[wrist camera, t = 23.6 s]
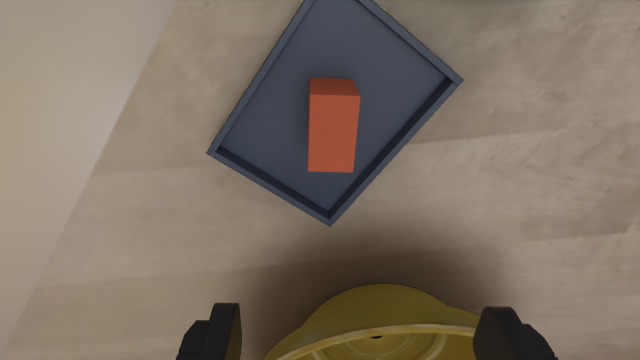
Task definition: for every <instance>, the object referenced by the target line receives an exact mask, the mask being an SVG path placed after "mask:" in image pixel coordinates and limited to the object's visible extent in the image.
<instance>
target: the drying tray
mask: <svg viewBox="0 0 640 360" xmlns="http://www.w3.org/2000/svg"><path fill="white" fill-rule="evenodd" d="M311 77H312V78H340V79H353V81H354V83H355V85H356V88H357V90H358V92H359V95H360V107H359V117H358V128H357V138H356V149H355V159H354V170H353V172H310V171H308V127H309V90H310V78H311ZM462 82H463V79H462V78H461V77H460V76H459V75H458V74H457V73H455V72H454V71H453V70H452V69H451V68H450V67H449V66H447V65H446V64H445V63H444V62H443V61H442V60H440V59H439V58H438V57H437V56H436V55H435V54H434V53H432V52H431V51H430V50H429V49H428V48H427V47H425V46H424V45H423V44H422V43H421V42H420V41H419V40H417V39H416V38H415V37H414V36H413V35H412V34H410V33H409V32H408V31H407V30H406V29H405V28H404V27H402V26H401V25H400V24H399V23H398V22H397V21H395V20H394V19H393V18H392V17H391V16H390V15H389V14H387V13H386V12H385V11H384V10H383V9H382V8H380V7H379V6H378V5H377V4H376V3H375V2H374V1H372V0H304V1H303V3H302V4H301V6H300V7H299V9H298V10H297V12H296V14H295V15H294V17H293V18H292V20H291V21H290V23H289V24H288V26H287V28H286V29H285V31H284V32H283V34H282V35H281V37H280V38H279V40H278V41H277V43H276V45H275V46H274V48H273V49H272V51H271V52H270V54H269V55H268V57H267V59H266V60H265V62H264V63H263V65H262V66H261V68H260V69H259V71H258V72H257V74H256V76H255V77H254V79H253V80H252V82H251V83H250V85H249V86H248V88H247V90H246V91H245V93H244V94H243V96H242V97H241V99H240V100H239V102H238V104H237V105H236V107H235V108H234V110H233V111H232V113H231V114H230V116H229V117H228V119H227V121H226V122H225V124H224V125H223V127H222V128H221V130H220V131H219V133H218V135H217V136H216V138H215V139H214V141H213V142H212V144H211V146H210V147H209V149H208V151H207V152H206V153H207V154H208V155H210V156H212V157H213V158H215V159H217V160H218V161H220V162H222V163H223V164H225V165H227V166H228V167H230V168H232V169H234V170H235V171H237V172H239V173H240V174H242V175H244V176H245V177H247V178H249V179H250V180H252V181H254V182H255V183H257V184H259V185H260V186H262V187H264V188H266V189H267V190H269V191H271V192H272V193H274V194H276V195H277V196H279V197H281V198H282V199H284V200H286V201H287V202H289V203H291V204H293V205H294V206H296V207H298V208H299V209H301V210H303V211H304V212H306V213H308V214H309V215H311V216H313V217H314V218H316V219H318V220H320V221H321V222H323V223H325V224H326V225H328V226H330V227H331V226H332V225H333V224H334V222H335V221H336V220H337V219H338V218H339V217H340V216H341V215H342V214H343V213H344V211H345V210H346V209H347V208H348V207H349V206H350V205H351V204H352V203H353V202H354V200H355V199H356V198H357V197H358V196H359V195H360V194H361V193H362V192H363V191H364V189H365V188H366V187H367V186H368V185H369V184H370V183H371V182H372V181H373V180H374V178H375V177H376V176H377V175H378V174H379V173H380V172H381V171H382V170H383V169H384V167H385V166H386V165H387V164H388V163H389V162H390V161H391V160H392V159H393V158H394V156H395V155H396V154H397V153H398V152H399V151H400V150H401V149H402V148H403V147H404V145H405V144H406V143H407V142H408V141H409V140H410V139H411V138H412V137H413V136H414V134H415V133H416V132H417V131H418V130H419V129H420V128H421V127H422V126H423V125H424V123H425V122H426V121H427V120H428V119H429V118H430V117H431V116H432V115H433V114H434V112H435V111H436V110H437V109H438V108H439V107H440V106H441V105H442V104H443V103H444V101H445V100H446V99H447V98H448V97H449V96H450V95H451V94H452V93H453V92H454V90H455V89H456V88H457V87H458V86H459V85H460V84H461V83H462Z"/></svg>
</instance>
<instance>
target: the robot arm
mask: <svg viewBox="0 0 640 360" xmlns="http://www.w3.org/2000/svg"><path fill="white" fill-rule="evenodd" d="M241 346H242V330H241V319H240V307H239V303H215V304H214V306H213V309H212V312H211V316H210V319H209V321H207V320H196V321H195V323H194V324H193V325H192V326H191V327H190V329H189V330H188V331H187V332H186V333H185V335H184V337H183V340H182V343H181V346H180V349H179V354H178V355H177V357H176V360H240V355H241ZM473 350H474V354H475V357H476V359H477V360H558V358H557V357H555V356H554V352H553V351H552V349H551V348H550V346H549V345H548V343H547V342H546V340H545V339H544V337H543V336H541V335H540V334H539V333H538V332H537V331H536V330H535V329H534V328H533V327H531V326H530V325H529V324H522V322H521V321H520V319H519V317H518V316H517V314H516V313H515V311H514V310H513V309H512V308H511V307H492V306H487V307H485V308H484V309H483V311H482V314H481V317H480V320H479V322H478V325H477V328H476V331H475V333H474V336H473Z"/></svg>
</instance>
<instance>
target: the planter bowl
mask: <svg viewBox="0 0 640 360" xmlns="http://www.w3.org/2000/svg"><path fill="white" fill-rule="evenodd" d="M480 317H481V316H478V315H476V314H474V313H471V312H468V311H465V310H462V309H459V308H454V307H450V306H448V305H446V304H445V303H443V302H442V301H440V300H438V299H436V298H435V297H433V296H431V295H429V294H427V293H425V292H423V291H420V290H418V289H415V288H412V287H408V286H403V285H397V284H371V285H365V286H360V287H356V288H352V289H349V290H347V291H344V292H341V293H339V294H338V295H336V296H334V297H332V298H330V299H329V300H327V301H326V302H325V303H323V304H322V305H321V306H320V307H319V308H318V309H316V310H315V311H314V312H313V313H312V315H311V316H310V317H309V318H308V319H307V320H306V321H305V322H304V324H303V325H302V326H301V327H300V328H299V329H297V330H295V331H294V332H292V333H291V334H289V335H288V336H287V337H285V338H284V339H282V340H281V341H280V342H279V343H278V344H276V345H275V346H274V347H273V348H272V349H271V350H270V351H269V352H268V353H267V355H266V356H265V357H264V358H263V359H262V360H377V359H379V360H477V359H476V357H475V354H474V350H473V336H474V333H475V331H476V328H477V325H478V322H479V320H480ZM382 335H383V336H382ZM374 336H382V337H381V338H376V339H375V338H372V337H374Z"/></svg>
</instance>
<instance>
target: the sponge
mask: <svg viewBox="0 0 640 360" xmlns="http://www.w3.org/2000/svg"><path fill="white" fill-rule="evenodd" d="M359 107H360V95H359V92H358V90H357V88H356V85H355V83H354V81H353V79H340V78H312V77H311V78H310V90H309V127H308V171H310V172H353V170H354V159H355V149H356V138H357V128H358V117H359Z"/></svg>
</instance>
